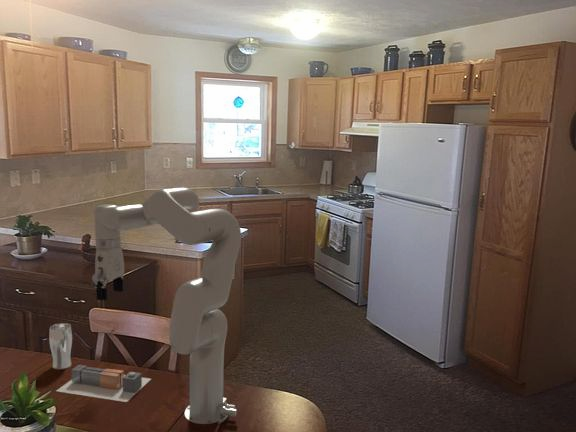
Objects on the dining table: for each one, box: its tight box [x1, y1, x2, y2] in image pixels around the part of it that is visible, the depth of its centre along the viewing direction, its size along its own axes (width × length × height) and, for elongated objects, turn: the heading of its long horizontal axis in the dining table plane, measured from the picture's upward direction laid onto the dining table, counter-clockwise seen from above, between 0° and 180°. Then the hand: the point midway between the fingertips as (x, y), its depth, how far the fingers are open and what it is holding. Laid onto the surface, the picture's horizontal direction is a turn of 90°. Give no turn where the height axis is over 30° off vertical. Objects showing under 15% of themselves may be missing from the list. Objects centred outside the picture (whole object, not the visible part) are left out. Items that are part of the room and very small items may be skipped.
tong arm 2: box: [75, 364, 125, 386], centre depth 157 cm, size 16×2×4 cm, turn 79°
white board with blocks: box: [56, 371, 152, 403], centre depth 155 cm, size 24×15×6 cm, turn 77°
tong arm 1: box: [70, 366, 120, 389], centre depth 155 cm, size 16×2×4 cm, turn 76°
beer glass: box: [48, 322, 73, 370], centre depth 167 cm, size 7×7×15 cm
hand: (110, 295), depth 159 cm, fingers open, 9 cm apart
